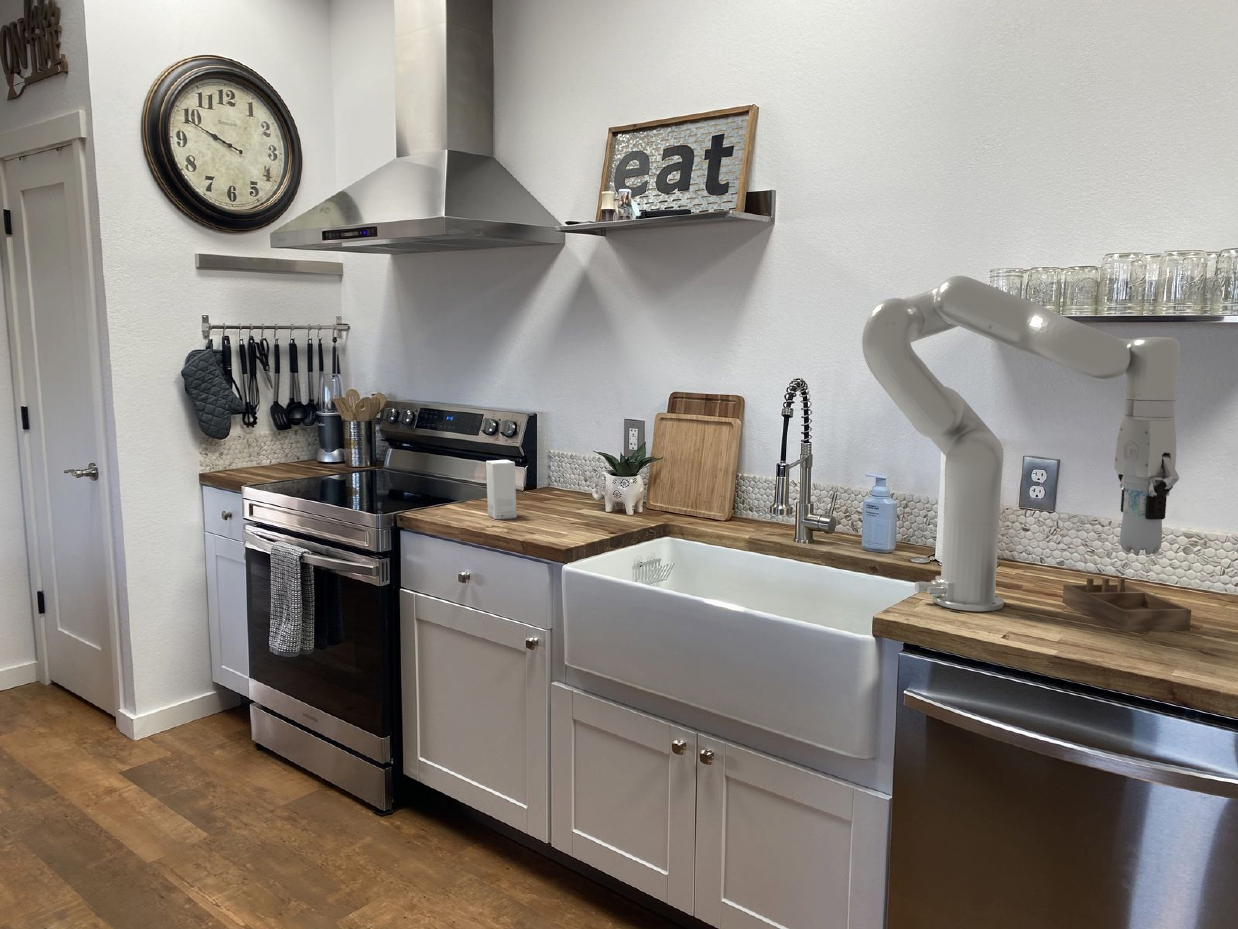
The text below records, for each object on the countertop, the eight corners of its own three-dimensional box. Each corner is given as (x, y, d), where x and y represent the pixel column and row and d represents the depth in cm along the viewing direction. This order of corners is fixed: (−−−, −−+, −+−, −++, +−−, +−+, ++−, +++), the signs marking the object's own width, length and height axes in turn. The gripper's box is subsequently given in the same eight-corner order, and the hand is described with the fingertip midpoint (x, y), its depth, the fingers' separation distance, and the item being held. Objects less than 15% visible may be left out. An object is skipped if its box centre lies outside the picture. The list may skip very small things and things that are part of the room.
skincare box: (516, 518, 257) (516, 462, 256) (493, 520, 255) (492, 463, 253) (508, 513, 265) (508, 458, 263) (485, 515, 263) (485, 459, 261)
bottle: (1122, 546, 167) (1130, 434, 164) (1165, 551, 162) (1174, 436, 160) (1113, 552, 161) (1121, 436, 159) (1158, 558, 157) (1166, 439, 155)
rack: (1122, 631, 157) (1124, 600, 156) (1062, 602, 175) (1064, 574, 174) (1189, 630, 158) (1192, 599, 157) (1123, 601, 176) (1125, 573, 175)
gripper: (1098, 407, 167) (1091, 507, 169) (1162, 414, 150) (1154, 525, 152) (1138, 407, 168) (1131, 507, 170) (1206, 414, 151) (1197, 524, 153)
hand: (1142, 514), depth 161 cm, fingers closed on bottle, 5 cm apart
